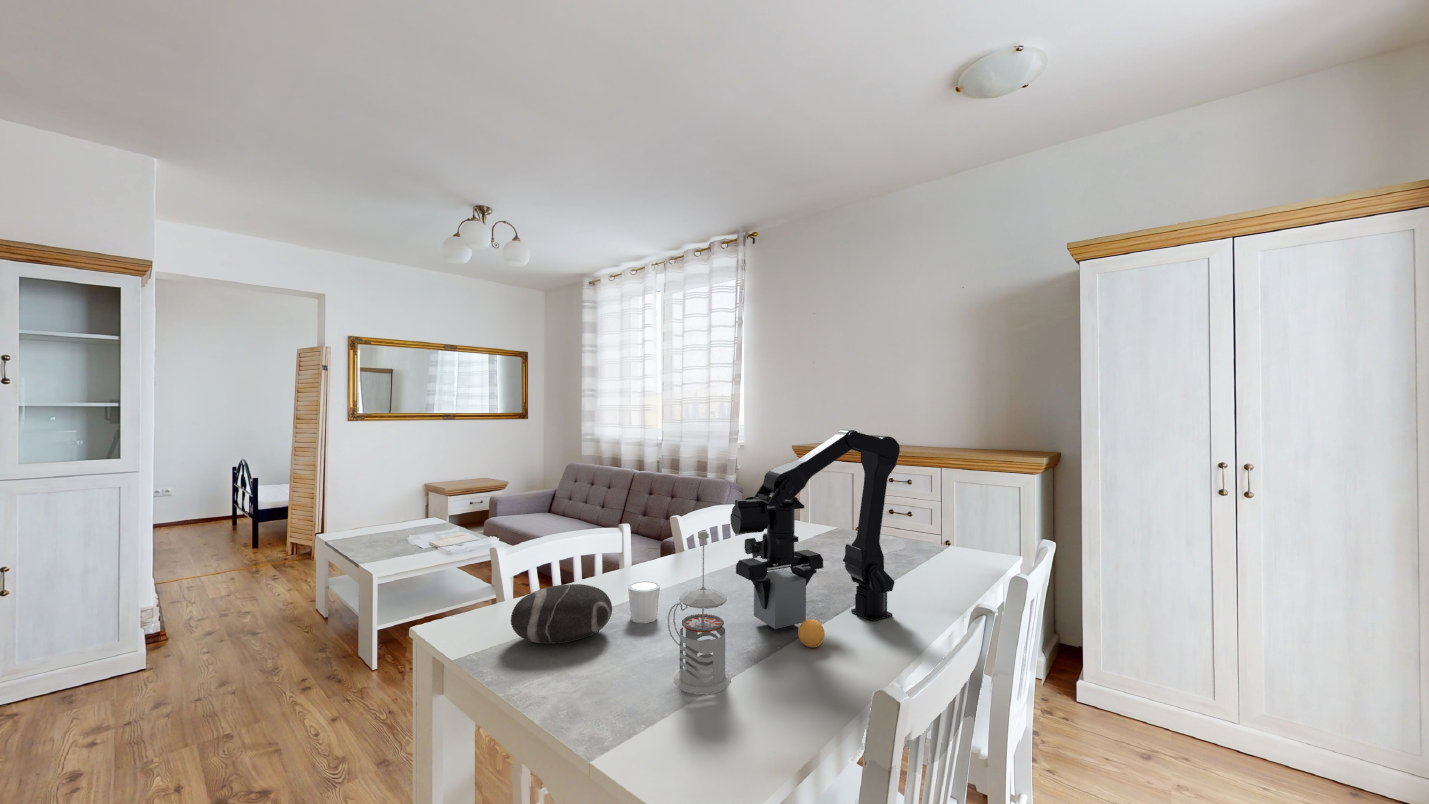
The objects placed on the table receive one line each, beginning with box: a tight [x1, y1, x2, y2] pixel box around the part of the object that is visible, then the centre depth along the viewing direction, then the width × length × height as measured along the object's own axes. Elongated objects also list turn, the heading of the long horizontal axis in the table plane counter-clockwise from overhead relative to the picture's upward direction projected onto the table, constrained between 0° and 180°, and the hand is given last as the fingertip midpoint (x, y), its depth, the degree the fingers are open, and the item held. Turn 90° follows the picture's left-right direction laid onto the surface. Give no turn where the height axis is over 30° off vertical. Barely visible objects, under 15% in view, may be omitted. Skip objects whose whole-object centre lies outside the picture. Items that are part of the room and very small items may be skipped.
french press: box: [667, 530, 732, 695], centre depth 95 cm, size 10×12×25 cm
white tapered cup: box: [627, 580, 661, 624], centre depth 121 cm, size 7×7×7 cm
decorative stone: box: [510, 583, 613, 644], centre depth 111 cm, size 19×14×10 cm
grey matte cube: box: [753, 568, 807, 630], centre depth 117 cm, size 8×8×9 cm
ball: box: [797, 619, 826, 648], centre depth 107 cm, size 5×5×5 cm
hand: (780, 605), depth 117 cm, fingers closed on grey matte cube, 8 cm apart
